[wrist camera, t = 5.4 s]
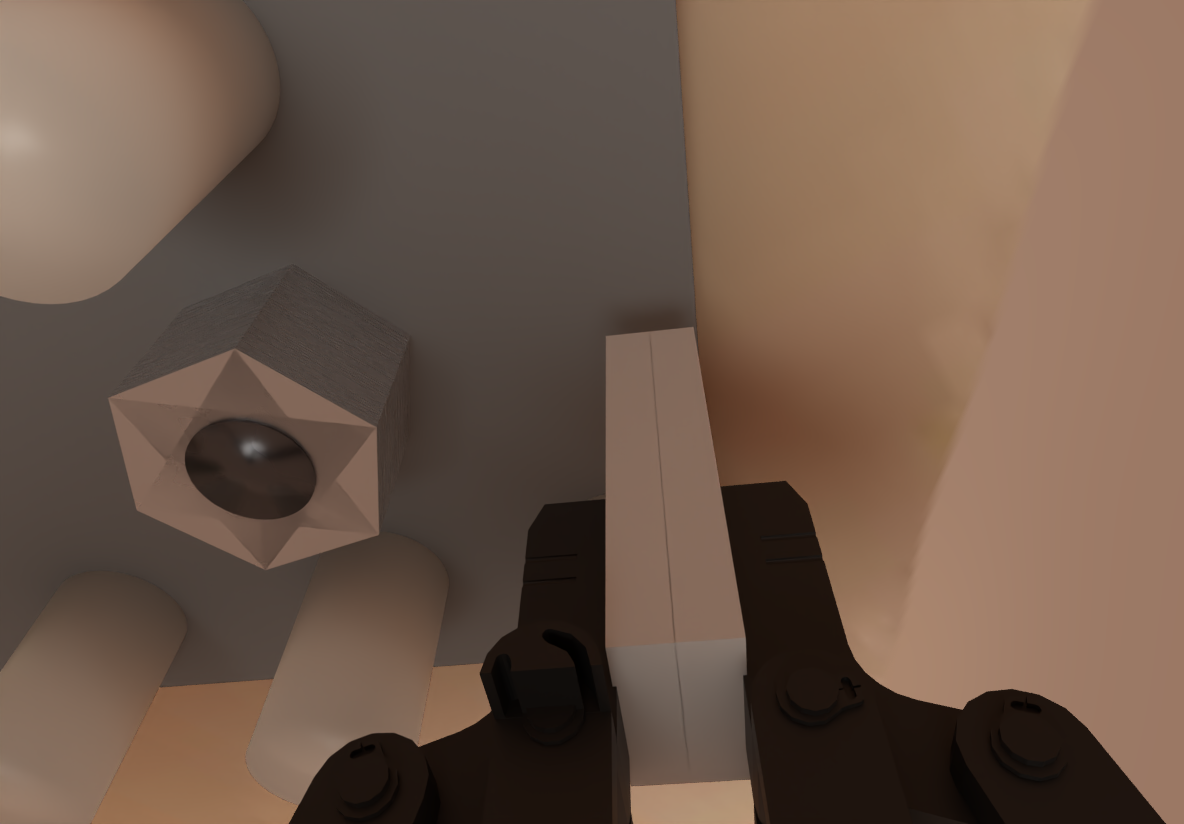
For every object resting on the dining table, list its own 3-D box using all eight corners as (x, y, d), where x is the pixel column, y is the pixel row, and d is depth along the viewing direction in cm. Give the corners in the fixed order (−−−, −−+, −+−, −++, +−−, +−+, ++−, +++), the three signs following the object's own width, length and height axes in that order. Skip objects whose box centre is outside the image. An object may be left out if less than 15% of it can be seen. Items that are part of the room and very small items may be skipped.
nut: (262, 485, 19) (210, 589, 16) (131, 329, 16) (46, 423, 14) (461, 417, 18) (438, 519, 15) (350, 239, 15) (300, 324, 13)
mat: (-162, 678, 25) (-193, 713, 24) (-840, 37, 14) (-945, 53, 13) (712, 609, 23) (717, 645, 22) (657, -204, 12) (662, -205, 11)
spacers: (93, 658, 22) (-20, 847, 18) (-379, 33, 13) (-811, 134, 9) (699, 611, 21) (722, 803, 17) (639, -122, 12) (658, -86, 8)
